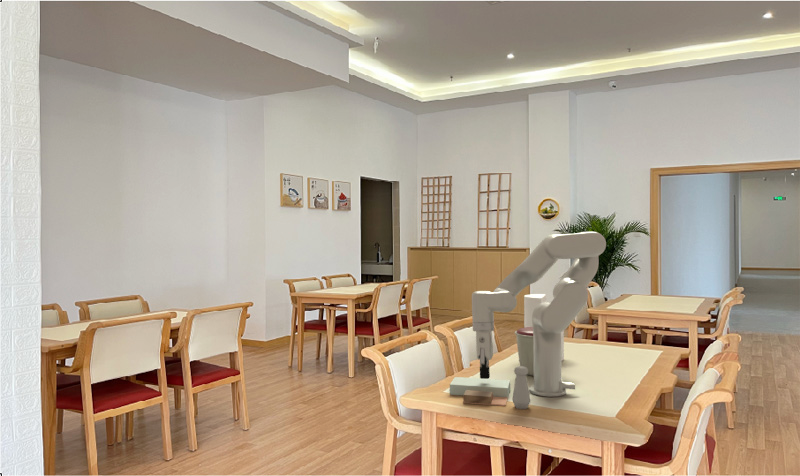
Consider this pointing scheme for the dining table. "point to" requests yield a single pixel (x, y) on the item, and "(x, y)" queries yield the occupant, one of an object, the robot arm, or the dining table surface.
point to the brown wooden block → (478, 397)
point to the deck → (480, 386)
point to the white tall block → (529, 306)
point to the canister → (526, 348)
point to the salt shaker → (521, 388)
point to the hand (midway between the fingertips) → (484, 377)
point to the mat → (495, 401)
